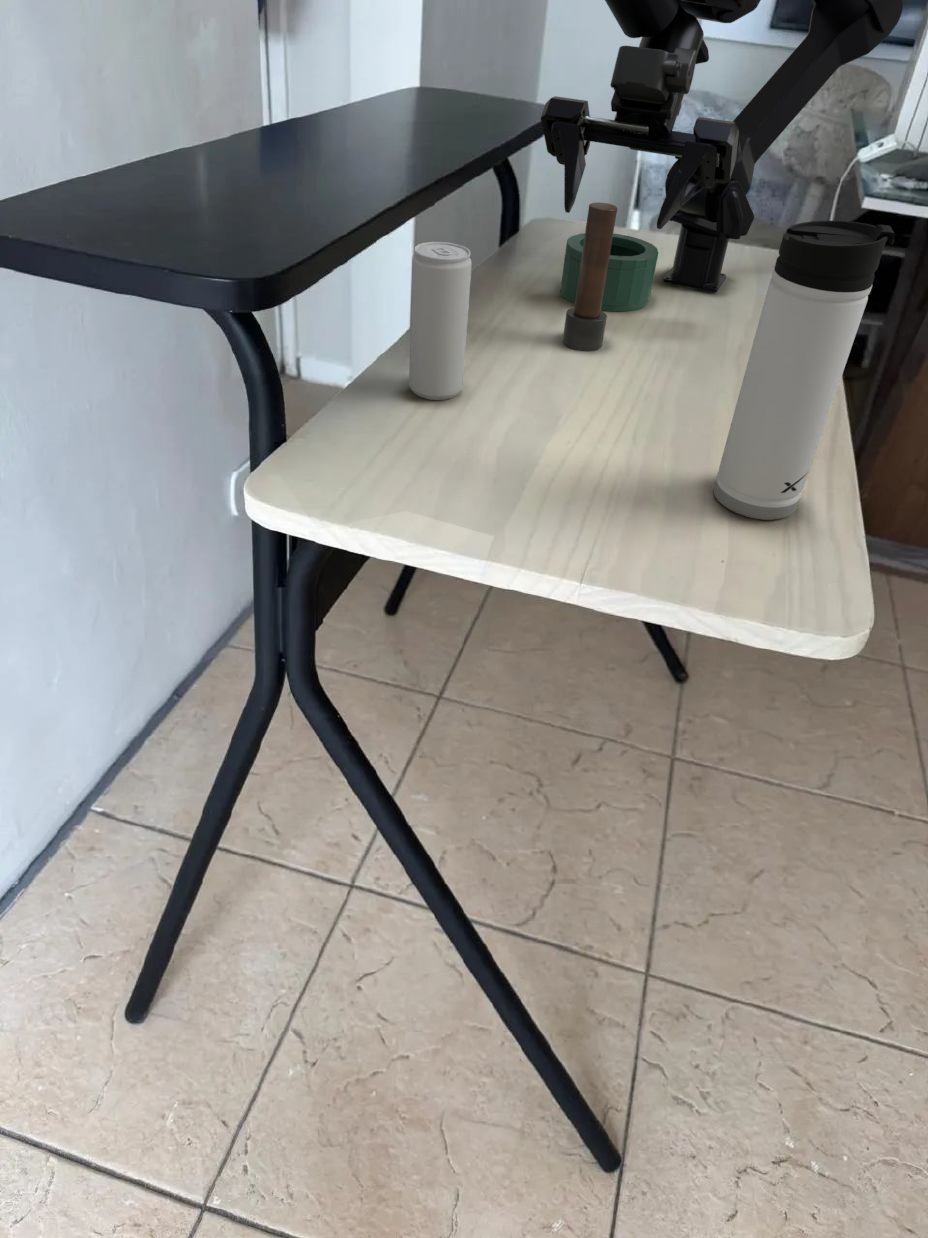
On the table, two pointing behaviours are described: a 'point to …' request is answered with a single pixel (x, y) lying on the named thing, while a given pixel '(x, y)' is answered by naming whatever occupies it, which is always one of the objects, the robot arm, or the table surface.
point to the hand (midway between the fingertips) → (612, 217)
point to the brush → (591, 281)
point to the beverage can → (439, 319)
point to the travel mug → (797, 363)
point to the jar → (615, 272)
